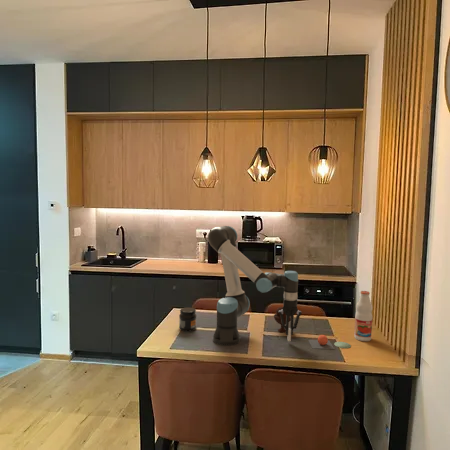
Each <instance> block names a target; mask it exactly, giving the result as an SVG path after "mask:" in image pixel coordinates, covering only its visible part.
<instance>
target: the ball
mask: <svg viewBox="0 0 450 450" xmlns="http://www.w3.org/2000/svg"><path fill="white" fill-rule="evenodd" d="M317 340H318V343H319V344H320V345H326V344H327V342H328V340H329V339H328V336H326V334H325V335H324V334H319V336H318V337H317Z"/></svg>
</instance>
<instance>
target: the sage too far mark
mask: <svg viewBox="0 0 450 450" xmlns="http://www.w3.org/2000/svg"><path fill="white" fill-rule="evenodd" d="M333 345H334V346H335V347H337V348H340V349H349V348H351V347H352V345H351V344H350V343H348V342H345V341H336V342H334V343H333Z"/></svg>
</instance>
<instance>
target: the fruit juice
mask: <svg viewBox="0 0 450 450" xmlns="http://www.w3.org/2000/svg"><path fill="white" fill-rule="evenodd" d="M370 293H371V292H370V291H368V290H361V291H360V297H359V298H358V299H359V300H358V301H357V303H356V304H355V308H356V312H355V318H354V333H353V334H354V338H355V340H358V341H360V342H370V341H371V340H372V333H373V331H372V329H373V313H372V311H373V310H374V309H373V308H374V307H373V304H372V302H371V300H370V299H371V298H370Z"/></svg>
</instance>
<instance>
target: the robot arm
mask: <svg viewBox="0 0 450 450" xmlns="http://www.w3.org/2000/svg"><path fill="white" fill-rule="evenodd" d="M207 240H208V243H209V245H210V247H212V249H213V250H214V251H216V252H217V253H218V254H220V258H221V264H222V270H223V275H224V279H225V284H226V291H227V292H226V294H225V297H222V298H220V299H219V300H218V301H217V303H216V328H215V331H214V333H213V336H212V341H213V342H214V343H215V344H218V345H219V346H220V345H221V346H235V345H237V344H239V343H240V342H241V340H240V339H241V337H240V333H239V329H238V319H239V318H240V317H242V316H243V315H245V314H246V313H247V312H248V311H249V310H250V305H251V304H250V303H251V302H250V299H249V297H248V296H247V295H246V292H245V290H243V289H242V283H241V278H240V272H242V273H243V274H244V275H245V276H246V278H247V277H248V279H249V280H251V281H252V282H253V283H254V284H255V286H256V289H257V291H258V292H260V293H261V294H262V293H268V292H270V291H271V290H273V289H274V288H275V287H276V288H281V289H283V303H282V304H283V305H282V307H283V308H282V310H279V311H278V312H279V314H280V316H281V321H282V326H283V328H284V329H286V332H285V334H286V336H287V338H286V340H287V342H291V340H292V336H293V335H294V329H297V327H298V324H299V320H300V317H301V315H302V314H303V312H302V310H299V309H298V293H299V291H298V289H299V288H298V287H299V273H298V272H297V271H296V270H285V271H284V273H276V272H266V271H265V272H264V271H262V270H261V269H260V268H259V267H258V266H257V265H256V264H254V262H252V261H251V260H250V259H249V258H248V257H247V256H245V255H244V253H242V252H241V251H240V250H239V249H238V248H237V244H236V243H237V240H238V232H237V231H236V229H235V228H233V227H232V226H229V225H223V226H216V227H213V228H212V229H211V230H210V231H209V232H208V234H207ZM239 271H240V272H239ZM283 311H284V313H285V314H286V324H285V323H284V319H283V315H282V314H283ZM295 315H296V316H295ZM289 316H291V321H290V322H289ZM294 316H295V317H294ZM294 318H295V320H294ZM289 324H290V325H289Z"/></svg>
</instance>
